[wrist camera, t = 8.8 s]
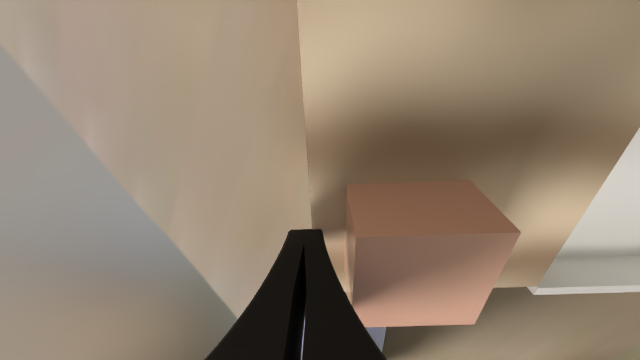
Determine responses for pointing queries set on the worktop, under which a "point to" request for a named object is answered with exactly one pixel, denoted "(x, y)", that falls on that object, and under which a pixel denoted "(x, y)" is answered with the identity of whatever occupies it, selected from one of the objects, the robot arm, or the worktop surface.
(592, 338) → the worktop surface
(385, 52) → the board
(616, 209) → the tray
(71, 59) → the worktop surface
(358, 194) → the salmon pink block
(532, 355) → the worktop surface
